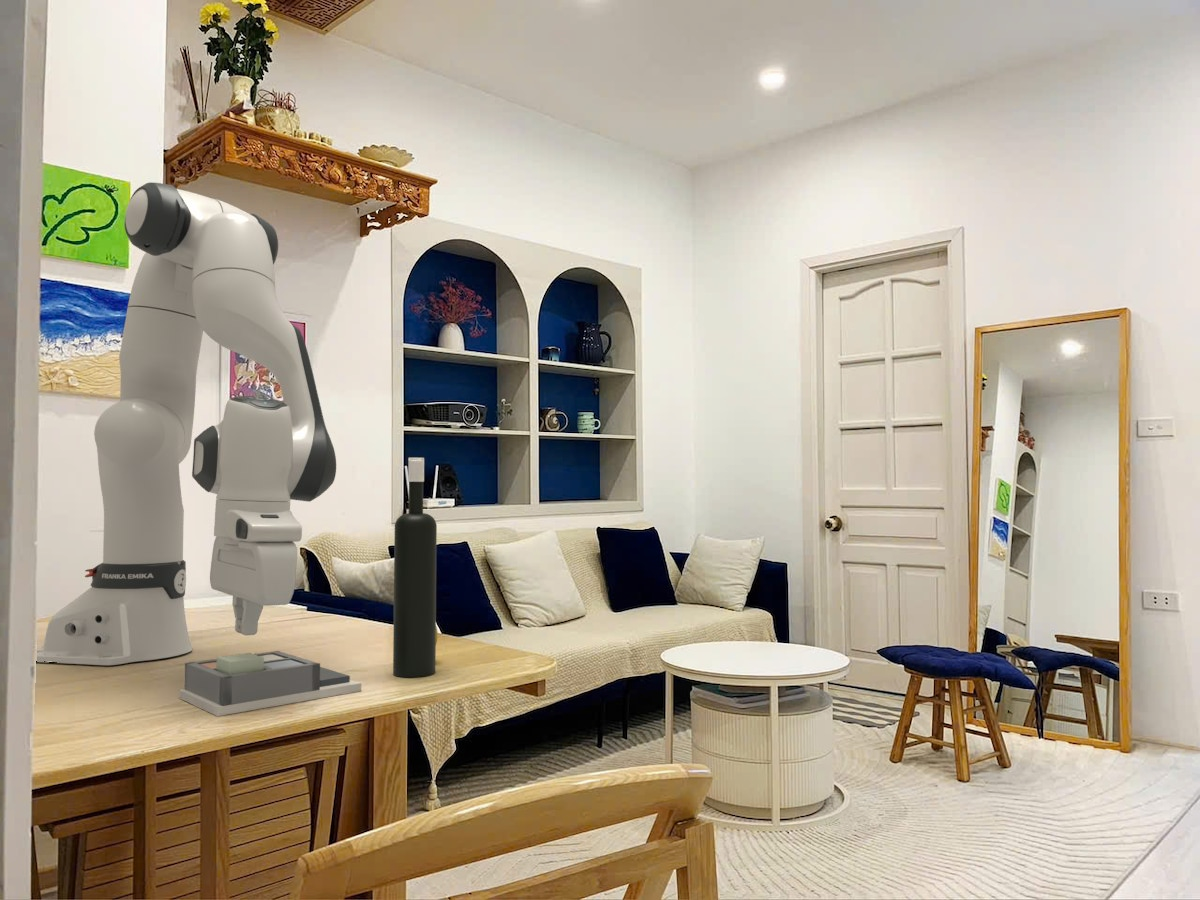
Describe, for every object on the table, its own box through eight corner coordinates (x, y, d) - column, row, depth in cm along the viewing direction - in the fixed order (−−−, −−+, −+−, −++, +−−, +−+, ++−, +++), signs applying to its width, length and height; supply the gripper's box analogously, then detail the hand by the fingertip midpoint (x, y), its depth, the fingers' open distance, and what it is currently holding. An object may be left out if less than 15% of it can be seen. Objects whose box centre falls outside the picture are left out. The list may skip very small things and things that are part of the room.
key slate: (273, 687, 108) (273, 668, 108) (258, 682, 110) (259, 664, 111) (304, 682, 110) (304, 664, 111) (289, 677, 113) (290, 659, 113)
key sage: (229, 681, 104) (230, 662, 104) (216, 676, 107) (216, 657, 107) (263, 676, 107) (263, 657, 107) (249, 671, 110) (249, 653, 110)
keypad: (217, 716, 102) (218, 678, 102) (179, 698, 110) (179, 663, 110) (361, 690, 114) (361, 657, 114) (316, 676, 123) (316, 645, 123)
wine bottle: (433, 668, 129) (435, 458, 130) (437, 676, 123) (439, 457, 124) (392, 670, 127) (394, 458, 128) (394, 678, 121) (396, 456, 123)
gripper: (200, 519, 120) (194, 624, 119) (255, 527, 104) (248, 648, 103) (248, 519, 124) (242, 621, 123) (308, 527, 108) (302, 643, 107)
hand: (245, 633), depth 113 cm, fingers closed
